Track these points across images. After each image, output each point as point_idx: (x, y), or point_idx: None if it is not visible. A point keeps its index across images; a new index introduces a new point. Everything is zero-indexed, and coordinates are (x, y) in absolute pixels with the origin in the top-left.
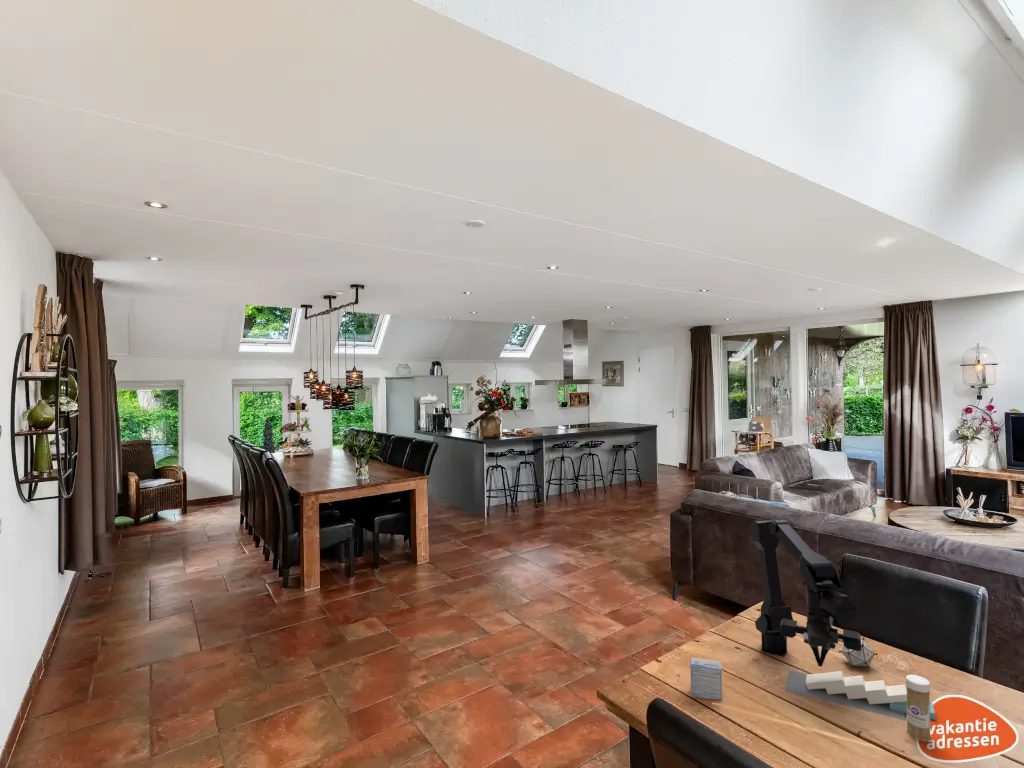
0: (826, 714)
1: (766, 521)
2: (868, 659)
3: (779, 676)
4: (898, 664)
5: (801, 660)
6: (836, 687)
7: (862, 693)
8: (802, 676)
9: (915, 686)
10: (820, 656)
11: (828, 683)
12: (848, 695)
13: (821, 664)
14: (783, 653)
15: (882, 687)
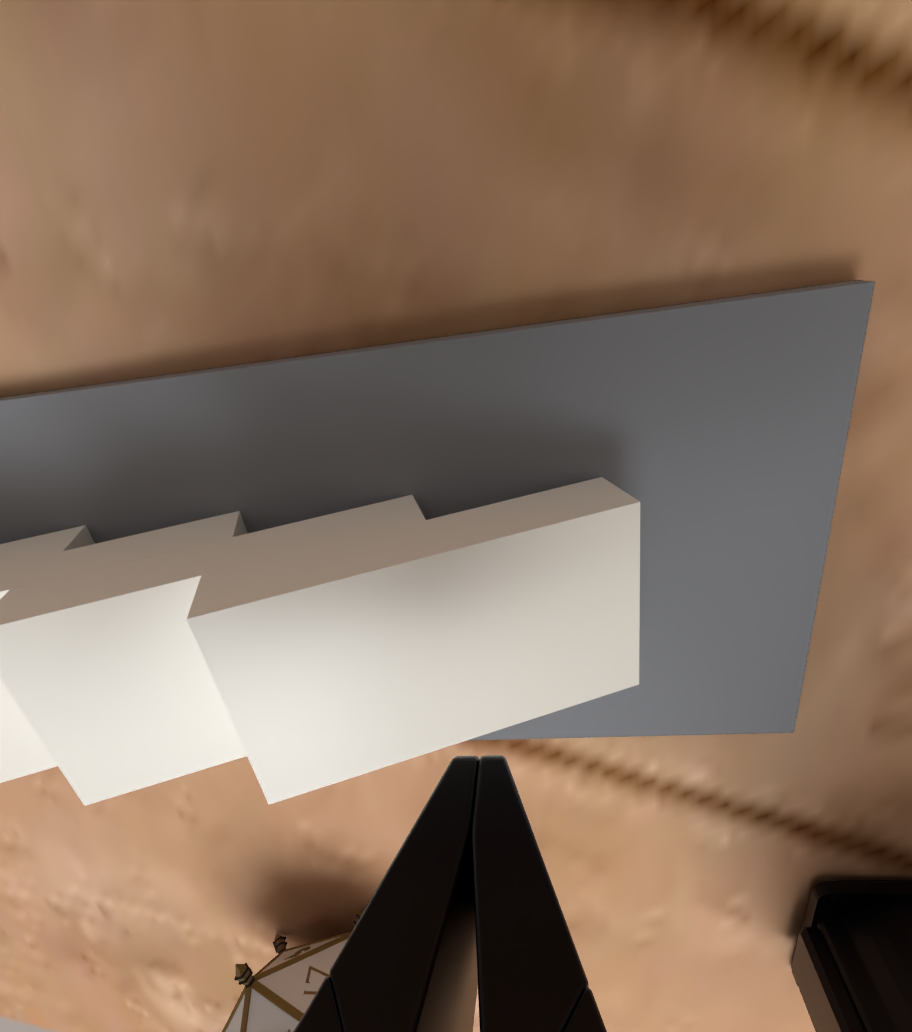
0: (346, 45)
1: None
2: (233, 1014)
3: (888, 610)
4: (191, 1003)
5: (677, 893)
6: (304, 547)
7: (70, 567)
8: (668, 685)
9: None
10: (468, 955)
11: (379, 554)
12: (220, 526)
13: (451, 786)
14: (825, 924)
15: None
